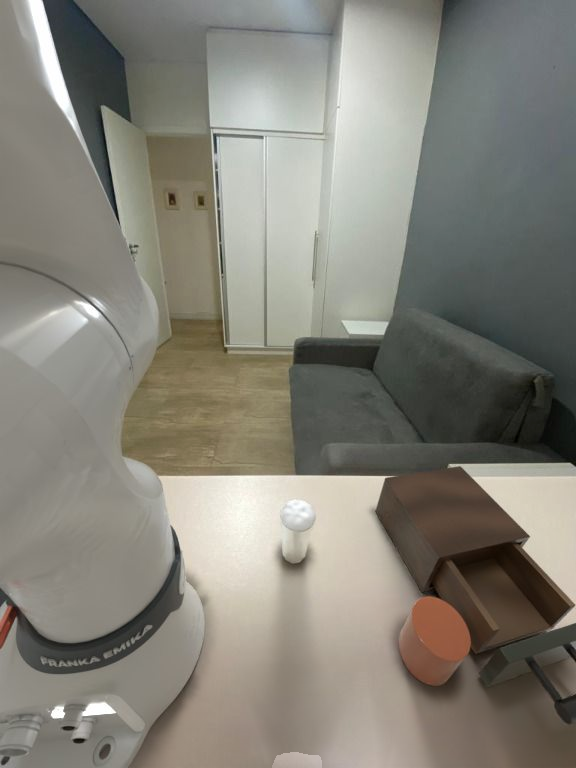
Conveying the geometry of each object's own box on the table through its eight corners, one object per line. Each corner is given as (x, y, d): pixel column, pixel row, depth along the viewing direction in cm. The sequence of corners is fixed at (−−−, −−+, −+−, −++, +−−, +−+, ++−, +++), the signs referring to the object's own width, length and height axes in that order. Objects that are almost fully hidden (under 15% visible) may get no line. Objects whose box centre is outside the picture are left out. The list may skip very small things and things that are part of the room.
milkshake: (266, 556, 43) (268, 507, 38) (292, 531, 46) (297, 484, 41) (290, 580, 40) (296, 531, 35) (316, 552, 44) (324, 504, 39)
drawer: (621, 706, 31) (659, 683, 28) (522, 749, 28) (553, 728, 25) (495, 555, 44) (511, 529, 41) (419, 573, 41) (431, 547, 38)
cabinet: (506, 570, 43) (530, 536, 39) (421, 592, 40) (439, 557, 36) (446, 498, 53) (460, 465, 50) (375, 511, 50) (385, 477, 47)
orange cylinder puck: (463, 677, 33) (484, 651, 30) (417, 693, 31) (434, 669, 28) (430, 617, 37) (445, 590, 34) (388, 629, 36) (401, 603, 33)
